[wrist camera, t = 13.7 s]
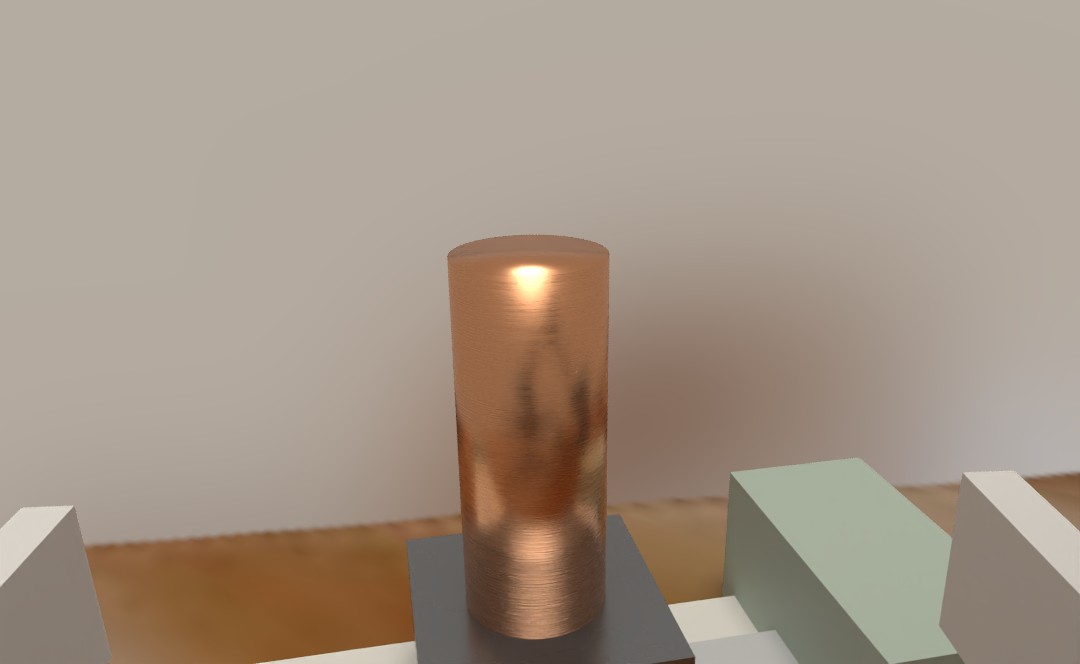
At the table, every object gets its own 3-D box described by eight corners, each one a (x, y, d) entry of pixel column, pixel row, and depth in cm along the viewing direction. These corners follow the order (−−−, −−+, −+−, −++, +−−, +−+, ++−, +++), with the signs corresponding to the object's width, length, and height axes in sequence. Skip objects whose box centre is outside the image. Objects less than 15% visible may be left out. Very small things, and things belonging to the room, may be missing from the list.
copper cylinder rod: (618, 590, 30) (624, 216, 25) (690, 747, 23) (715, 282, 19) (412, 618, 28) (381, 230, 24) (428, 793, 22) (390, 306, 18)
